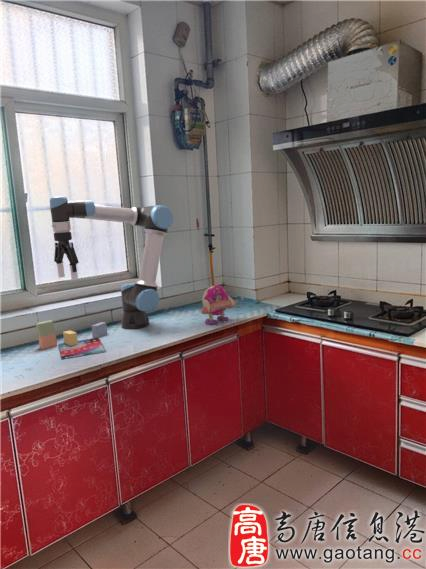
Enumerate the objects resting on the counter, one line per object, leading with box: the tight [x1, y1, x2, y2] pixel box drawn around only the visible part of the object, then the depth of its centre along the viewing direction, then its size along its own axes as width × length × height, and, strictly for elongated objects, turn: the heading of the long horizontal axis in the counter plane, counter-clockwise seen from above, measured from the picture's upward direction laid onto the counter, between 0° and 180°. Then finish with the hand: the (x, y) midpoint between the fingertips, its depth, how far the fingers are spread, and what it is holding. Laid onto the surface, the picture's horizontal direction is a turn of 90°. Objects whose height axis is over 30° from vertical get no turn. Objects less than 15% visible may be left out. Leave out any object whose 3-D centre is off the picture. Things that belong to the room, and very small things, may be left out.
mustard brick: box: [62, 330, 79, 346], centre depth 209 cm, size 7×4×6 cm, turn 44°
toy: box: [200, 284, 238, 326], centre depth 232 cm, size 25×9×20 cm, turn 129°
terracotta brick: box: [37, 332, 58, 350], centre depth 208 cm, size 7×4×6 cm, turn 134°
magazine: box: [57, 337, 107, 361], centre depth 202 cm, size 19×25×1 cm
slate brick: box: [90, 321, 108, 338], centre depth 221 cm, size 7×4×6 cm, turn 154°
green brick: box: [34, 319, 56, 337], centre depth 206 cm, size 7×4×6 cm, turn 133°
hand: (68, 278), depth 201 cm, fingers open, 13 cm apart
